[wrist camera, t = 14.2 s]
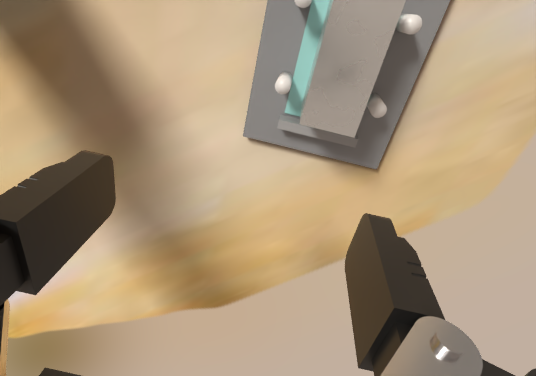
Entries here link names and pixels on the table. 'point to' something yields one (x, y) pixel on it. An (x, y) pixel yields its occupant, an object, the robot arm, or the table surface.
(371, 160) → the docking tray
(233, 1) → the table surface
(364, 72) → the block
